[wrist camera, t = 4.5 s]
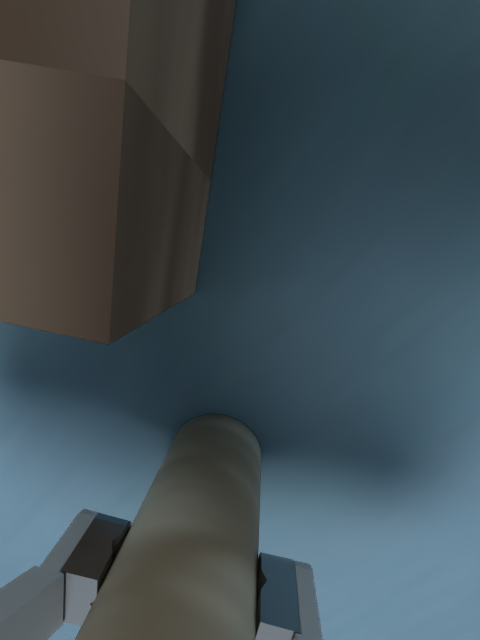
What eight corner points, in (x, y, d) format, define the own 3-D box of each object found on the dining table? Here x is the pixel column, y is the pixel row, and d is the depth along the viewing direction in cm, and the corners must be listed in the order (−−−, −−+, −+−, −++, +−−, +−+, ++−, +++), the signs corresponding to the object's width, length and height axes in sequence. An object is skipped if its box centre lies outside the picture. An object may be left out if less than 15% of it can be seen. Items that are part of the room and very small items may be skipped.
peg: (270, 425, 12) (278, 1200, 2) (252, 498, 13) (203, 1246, 3) (179, 405, 12) (-183, 1038, 2) (168, 479, 13) (-113, 1127, 3)
